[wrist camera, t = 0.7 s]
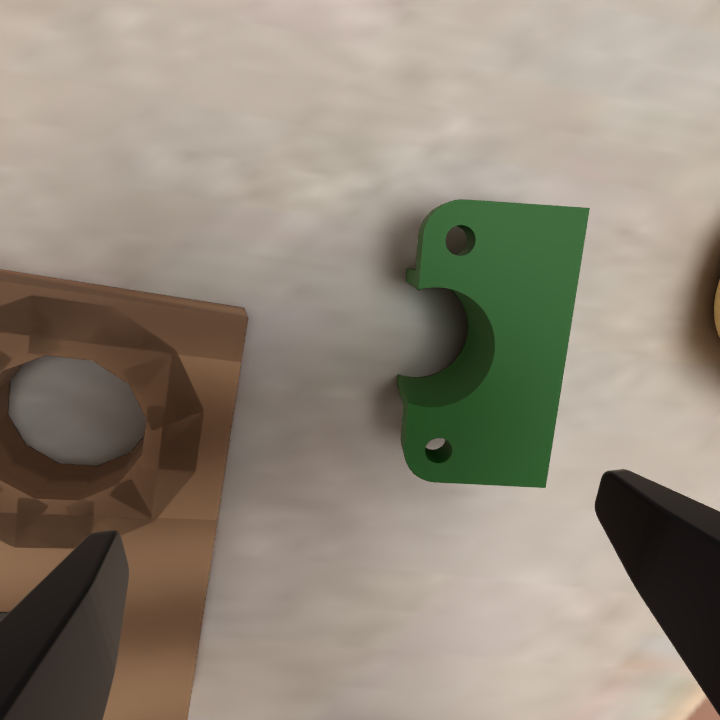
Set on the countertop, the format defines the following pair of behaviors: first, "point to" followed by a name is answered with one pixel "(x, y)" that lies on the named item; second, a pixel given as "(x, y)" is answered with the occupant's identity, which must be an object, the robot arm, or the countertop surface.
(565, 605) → the countertop surface
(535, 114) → the countertop surface
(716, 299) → the sculpture
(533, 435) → the clamp
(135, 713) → the socket plate
